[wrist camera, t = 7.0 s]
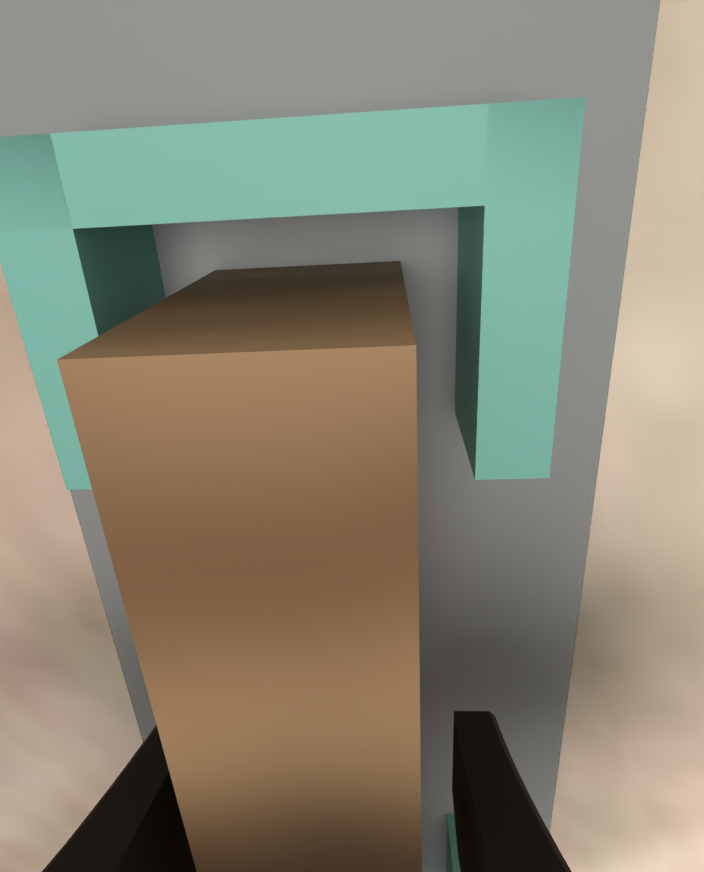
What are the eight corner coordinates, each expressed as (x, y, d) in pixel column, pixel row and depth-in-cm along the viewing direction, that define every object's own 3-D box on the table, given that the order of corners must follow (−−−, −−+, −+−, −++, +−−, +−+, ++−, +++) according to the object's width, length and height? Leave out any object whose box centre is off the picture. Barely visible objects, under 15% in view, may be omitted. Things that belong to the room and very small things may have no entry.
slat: (412, 870, 16) (424, 1153, 11) (303, 867, 16) (271, 1144, 11) (400, 261, 9) (416, 345, 5) (214, 270, 9) (55, 359, 5)
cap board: (523, 935, 18) (552, 1093, 15) (216, 926, 19) (182, 1075, 16) (648, -134, 8) (828, -344, 5) (-50, -68, 9) (-307, -213, 5)
